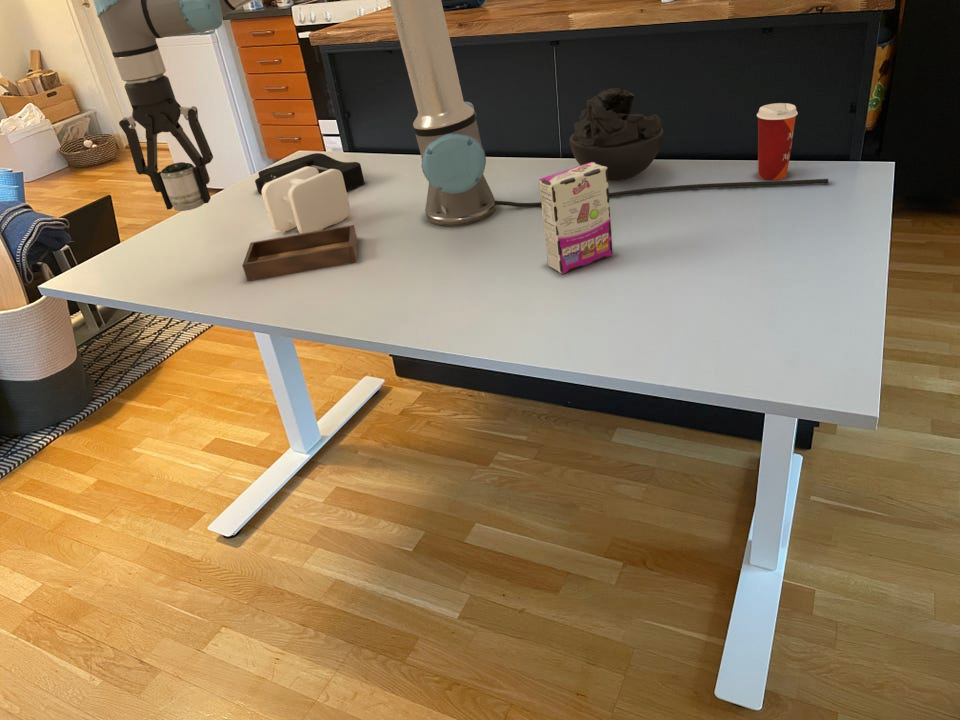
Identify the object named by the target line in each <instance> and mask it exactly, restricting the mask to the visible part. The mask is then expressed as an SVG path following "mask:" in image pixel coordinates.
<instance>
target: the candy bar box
mask: <svg viewBox="0 0 960 720" xmlns="http://www.w3.org/2000/svg"><path fill="white" fill-rule="evenodd" d="M538 187H539V195H540V196H539V197H540V202H541V206H540V207H541V214H542V215H541V216H542V223H543V233H544V241H545V248H546V257H547V258H546V259H547V265H548V267H550V268H551V269H552V270H554V271H556V272H557V273H559V274H561V275H564V274H567V273H569V272H572V271H574V270H577V269H580V268H583V267H585V266H588V265H591V264H594V263H596V262H598V261H601V260H604V259H608V258H609V257H612V256H613V239H612V237H613V235H612V223H611V209H610V208H611V205H610V197H609V193H610V189H609V181H608V171H607V167H605V166H602V165H600V164H596V163H595V162H590V163H587V164H584V165H581V166H580V165H578V166H575V167H571V168H569V169H565V170H562V171H559V172H557V173H554V174H551V175H547V176H544V177H541V178H538Z"/></svg>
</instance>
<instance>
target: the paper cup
mask: <svg viewBox="0 0 960 720" xmlns="http://www.w3.org/2000/svg"><path fill="white" fill-rule="evenodd" d="M798 114H799V112H798V111H797V106H796V105H795V104H792V103H787V102H785V103H784V102H777V103H776V102H775V103H769V104H765V105H762V106H760V107H759V109H758V112H757V113H756V117H757V132H758V133H757V136H758V137H757V174H758V175H757V176H758V178H759V179H760V180H764V181H781V180H784V179H785V178H786V177H787V175H788V170H789V165H790V158H791V152H792V145H793V138H794V131H795V124H796V118H797V116H798Z"/></svg>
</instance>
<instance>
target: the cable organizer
mask: <svg viewBox="0 0 960 720" xmlns="http://www.w3.org/2000/svg"><path fill="white" fill-rule="evenodd" d="M261 196H262V199H263V203H264V206H265V209H266V214H267V216H268V219H269V222H270V227H271V228H272V229H273V230H274V231H277V232H279V231H280V232H285V231H286V232H289V231H291V230H293V229H295V228H297V231H298V233H299V234H303V233H309V232H315V231H320V230H324V229H325V228H327V227H329V226H333V225H334V226H335V225H337V224H339V223H341V222H343V221H344V220H345V218H347V217H348V216H349V214H350V212H351V205H350V200H349V195H348V191H346V188H345V183H344V179H343V175H342V173H341V171H339V170H336V169H329V170H327V171H324V172H322V173H320V174H319V172H318V170H317V169H316V168H314V167H303V168H301V169H299V170H296V171H294V172H291V173H289V174H287V175H284V176H282V177H280V178H277V179H275V180H272V181H270V182H268V183H266V184H265V185H264V186H263V188H262V194H261Z"/></svg>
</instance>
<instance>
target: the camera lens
mask: <svg viewBox="0 0 960 720" xmlns="http://www.w3.org/2000/svg"><path fill="white" fill-rule="evenodd" d="M194 168H195V165H194V164H192V163H190V162H184V161H180V162H175V163H172V164H168V165H167V166H165V167H164V168H162V169H161V171H160V172H161V174H160V175H161V177H162V180H163V183H164V186H165V189H166V191H167V194H168V197H169V200H170V202H171V204H172V206H173V207H172V208H173V209H174V211H176V212H177V211H178V212H185V211H186V212H187V211H191V210H195V209H197V208H201V207H202V206H203V205H205V204H204V201H203V198H202V196H201V193H200V190H199V187H198V184H197V181H196V178H195V175H194V172H193V169H194Z"/></svg>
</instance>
